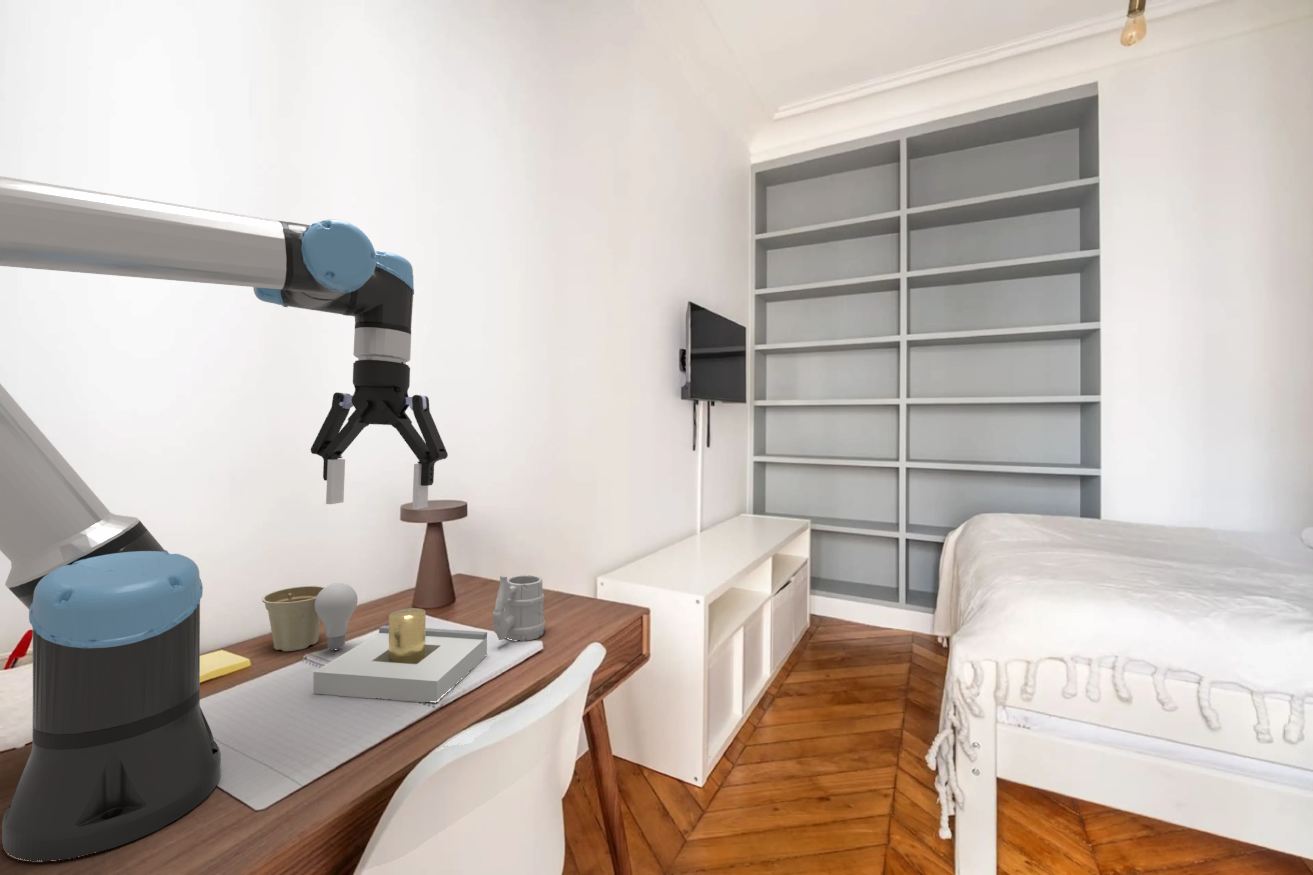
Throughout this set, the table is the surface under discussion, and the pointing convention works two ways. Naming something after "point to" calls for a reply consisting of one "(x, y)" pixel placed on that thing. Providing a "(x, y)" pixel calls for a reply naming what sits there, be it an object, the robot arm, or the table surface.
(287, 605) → the flower pot
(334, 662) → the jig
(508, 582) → the mug
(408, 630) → the gold cylinder
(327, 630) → the lightbulb
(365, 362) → the robot arm
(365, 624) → the table surface
